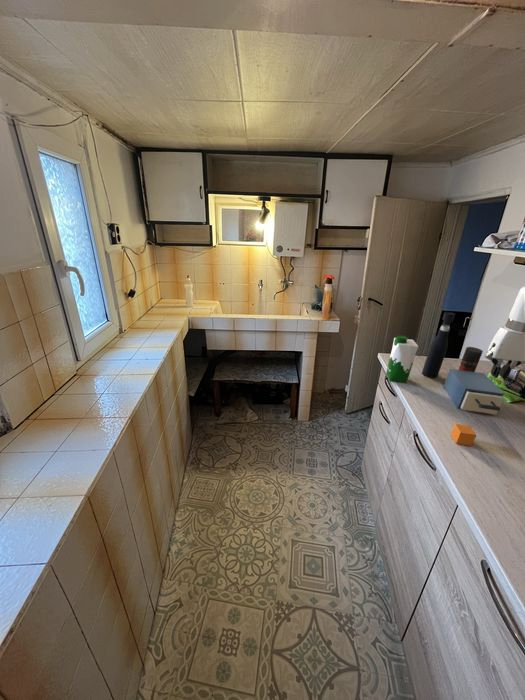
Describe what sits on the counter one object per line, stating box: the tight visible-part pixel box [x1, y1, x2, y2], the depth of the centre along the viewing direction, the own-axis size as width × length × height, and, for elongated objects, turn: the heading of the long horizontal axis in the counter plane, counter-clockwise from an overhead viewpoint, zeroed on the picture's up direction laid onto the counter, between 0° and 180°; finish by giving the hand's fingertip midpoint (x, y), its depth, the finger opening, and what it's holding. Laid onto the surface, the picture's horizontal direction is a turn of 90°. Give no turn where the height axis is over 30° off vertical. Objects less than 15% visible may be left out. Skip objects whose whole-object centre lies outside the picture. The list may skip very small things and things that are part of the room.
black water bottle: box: [421, 311, 456, 379], centre depth 124 cm, size 6×6×30 cm
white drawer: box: [460, 390, 505, 416], centre depth 107 cm, size 19×11×7 cm, turn 167°
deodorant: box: [457, 346, 484, 372], centre depth 125 cm, size 6×6×15 cm
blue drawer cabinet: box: [443, 368, 505, 410], centre depth 111 cm, size 16×13×9 cm
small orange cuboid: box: [450, 423, 478, 447], centre depth 90 cm, size 4×4×4 cm
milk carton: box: [385, 334, 420, 384], centre depth 122 cm, size 9×9×20 cm
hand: (498, 376), depth 96 cm, fingers closed
